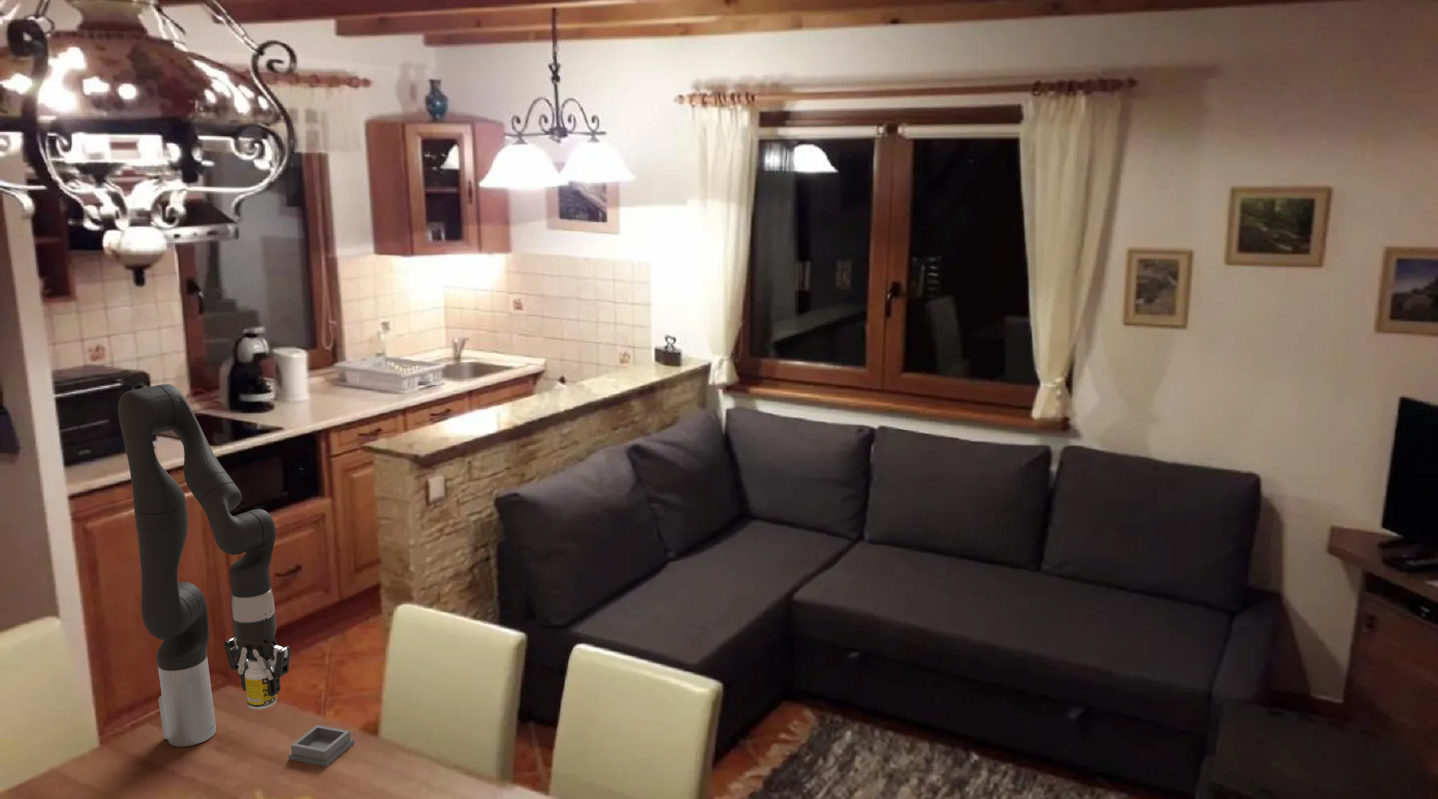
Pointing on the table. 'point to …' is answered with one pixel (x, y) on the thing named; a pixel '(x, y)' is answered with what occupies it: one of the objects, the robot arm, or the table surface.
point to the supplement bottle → (257, 687)
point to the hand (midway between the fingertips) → (261, 691)
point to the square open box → (321, 745)
